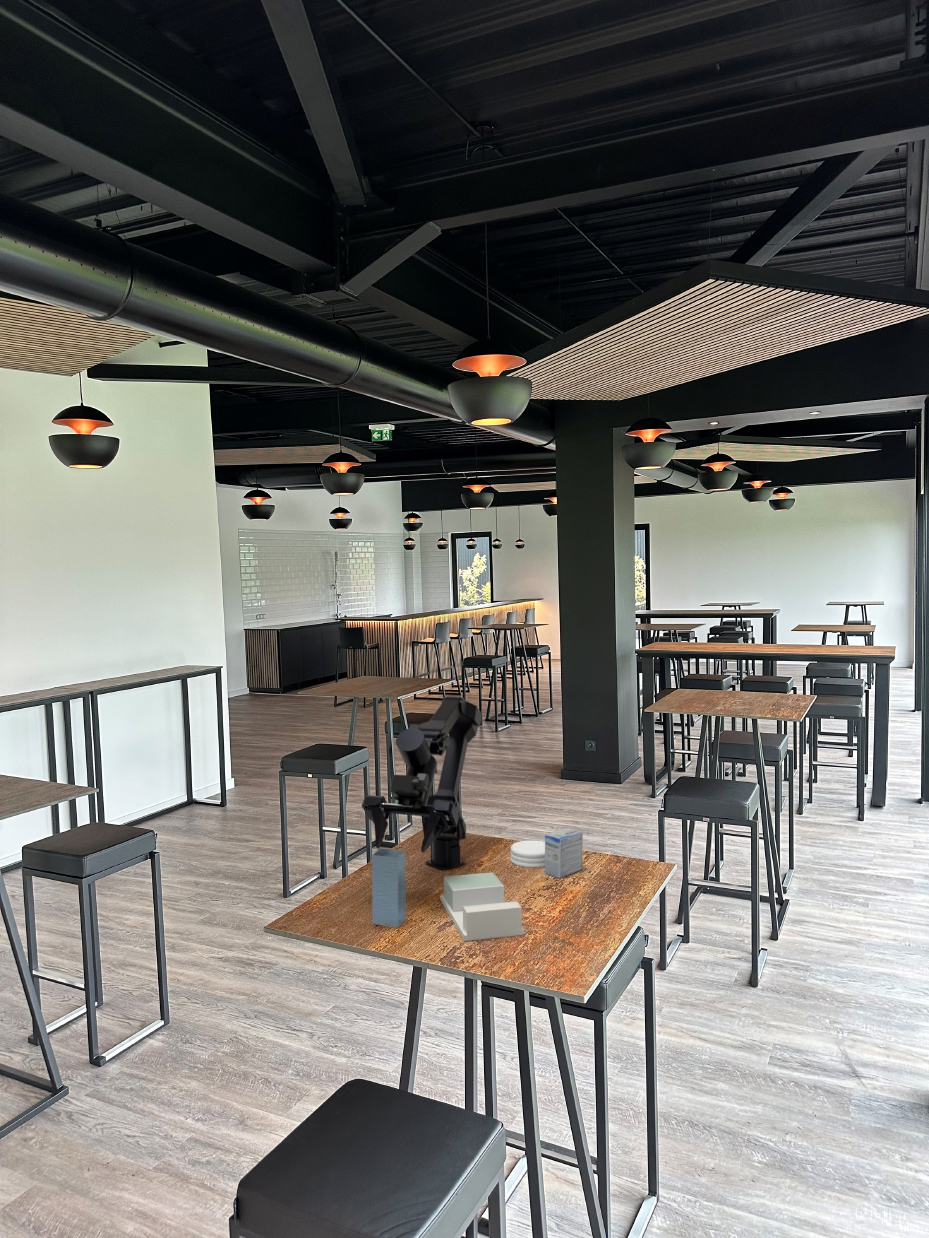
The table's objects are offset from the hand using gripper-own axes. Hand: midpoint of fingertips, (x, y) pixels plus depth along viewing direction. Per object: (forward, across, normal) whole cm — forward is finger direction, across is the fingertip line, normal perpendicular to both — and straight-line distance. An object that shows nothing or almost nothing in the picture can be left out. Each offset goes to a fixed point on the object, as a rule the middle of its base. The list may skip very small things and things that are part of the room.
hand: (399, 849), depth 157 cm
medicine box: (-13, +27, +30) cm, 42 cm away
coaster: (-17, +18, +34) cm, 43 cm away
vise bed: (+7, +16, +10) cm, 20 cm away
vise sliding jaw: (+3, +13, +12) cm, 18 cm away
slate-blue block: (+12, 0, +4) cm, 13 cm away
